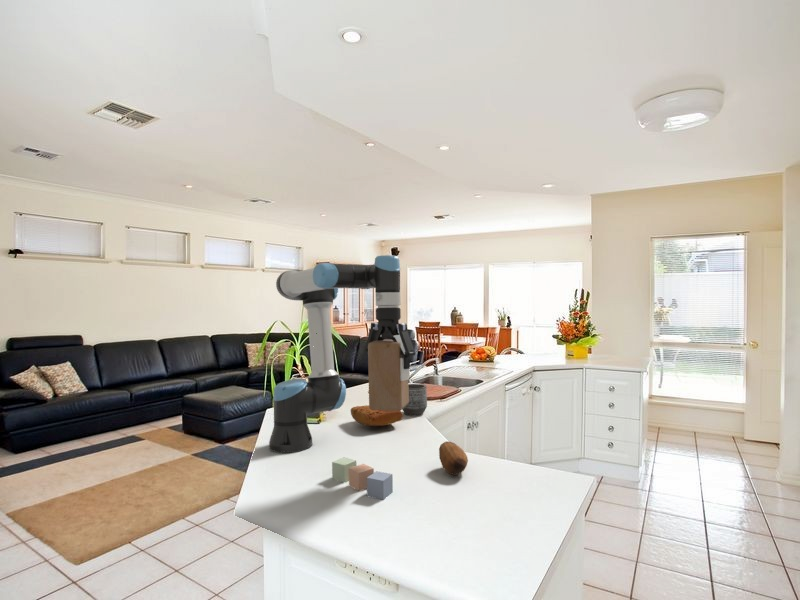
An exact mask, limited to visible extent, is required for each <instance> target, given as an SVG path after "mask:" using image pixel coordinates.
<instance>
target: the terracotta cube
mask: <svg viewBox="0 0 800 600" xmlns="http://www.w3.org/2000/svg"><path fill="white" fill-rule="evenodd" d="M374 469H375V468H374V467H371V466H369V465H368V464H365V463H362V464H356V466H354V467H350V468H349V481H348V485H350V487H351V486H352V487H351V488H353V489H354V488H355V490H357V492H359V491H360V490H361V491H363V489H364V490H367V489H366V488H367V477H369V476H370V475H372V474H373V473H374V472H375V471H374Z"/></svg>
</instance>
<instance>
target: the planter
mask: <svg viewBox="0 0 800 600" xmlns="http://www.w3.org/2000/svg"><path fill="white" fill-rule="evenodd" d="M408 385H409V403H408V404H407V405H406V406H405V407H404V408H403V409H402V410H401V411H402V413H403V414H404V415H406V416H410V417H419V416H422V415H424V413H425V411H426V410H427V407H428V391H427V385H425V384H421V383H408Z"/></svg>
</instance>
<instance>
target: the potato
mask: <svg viewBox="0 0 800 600" xmlns="http://www.w3.org/2000/svg"><path fill="white" fill-rule="evenodd" d="M438 454H439V455H438V456H439V461H440V463H441V466H442V468H443V469H444V471H445V472H446V473H448V474H449V475H453V476H457V475H459V474H461V473H462V472H464V471H465V469H466V468H467V466H468V462H469V459H468V455H467V453H466V452H465V451H464V450H463V449H462V447H460V446H459V445H457V444H456V443H455V442H452V441H444V442H443V443H441V444H440V446H439V448H438Z"/></svg>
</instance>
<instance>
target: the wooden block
mask: <svg viewBox="0 0 800 600" xmlns="http://www.w3.org/2000/svg"><path fill="white" fill-rule="evenodd" d="M400 347H401V343H400V342H394V341H393V340H392V339H384V340H377V341H373V342H370V343H369V344H368V352H367V355H368V356H367V364H368V367H367V369H368V374H367V375H368V403H369V404H368V405H369V408H370V409H372V410H384V411H403V410H402V409H403V408H404V407H405V406H406V405H407V404H408V403H409V385H408V384H409V380H404V381H401V380H400V358H401V356H402V355H401V354H400Z"/></svg>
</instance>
